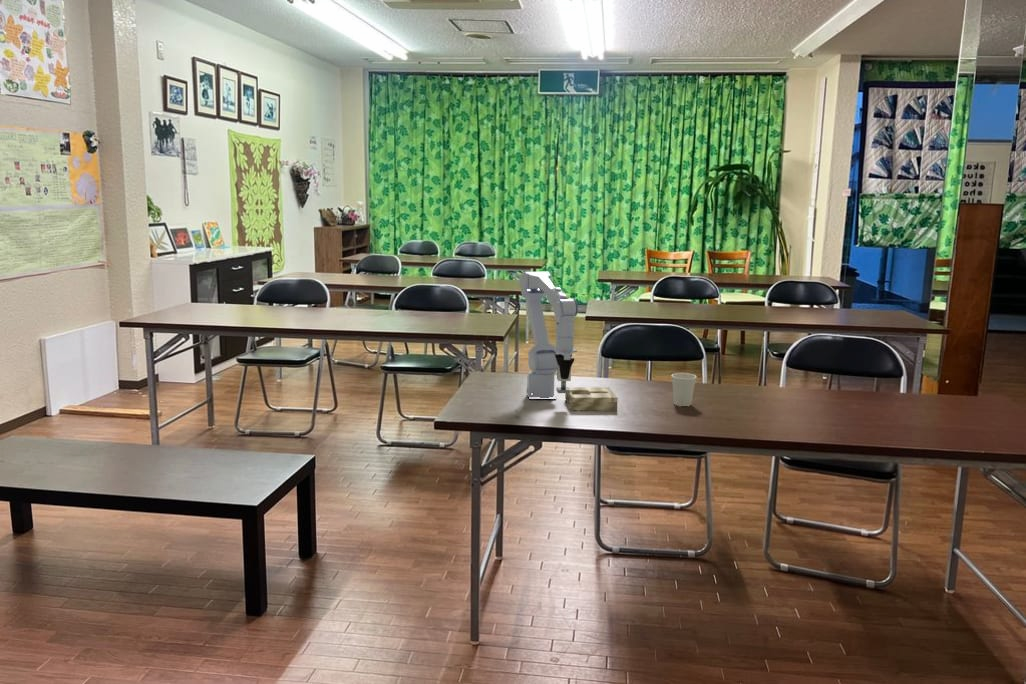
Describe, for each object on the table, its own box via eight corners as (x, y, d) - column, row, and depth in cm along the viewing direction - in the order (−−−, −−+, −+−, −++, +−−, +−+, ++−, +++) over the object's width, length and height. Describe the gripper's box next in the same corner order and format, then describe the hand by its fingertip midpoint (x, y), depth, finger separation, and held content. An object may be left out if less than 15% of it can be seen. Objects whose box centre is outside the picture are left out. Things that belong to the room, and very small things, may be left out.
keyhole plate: (571, 411, 251) (571, 397, 250) (565, 400, 264) (565, 387, 264) (617, 410, 252) (617, 397, 251) (608, 400, 266) (609, 387, 265)
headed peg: (558, 393, 251) (558, 365, 249) (556, 390, 255) (557, 363, 253) (570, 393, 251) (571, 365, 249) (568, 390, 255) (569, 363, 253)
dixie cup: (697, 407, 257) (699, 378, 256) (672, 407, 258) (673, 378, 256) (692, 401, 266) (693, 373, 264) (667, 401, 266) (669, 372, 264)
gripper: (580, 340, 243) (579, 382, 245) (574, 332, 257) (572, 372, 259) (558, 340, 242) (557, 382, 245) (552, 332, 256) (551, 372, 259)
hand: (563, 377), depth 252 cm, fingers closed on headed peg, 4 cm apart
